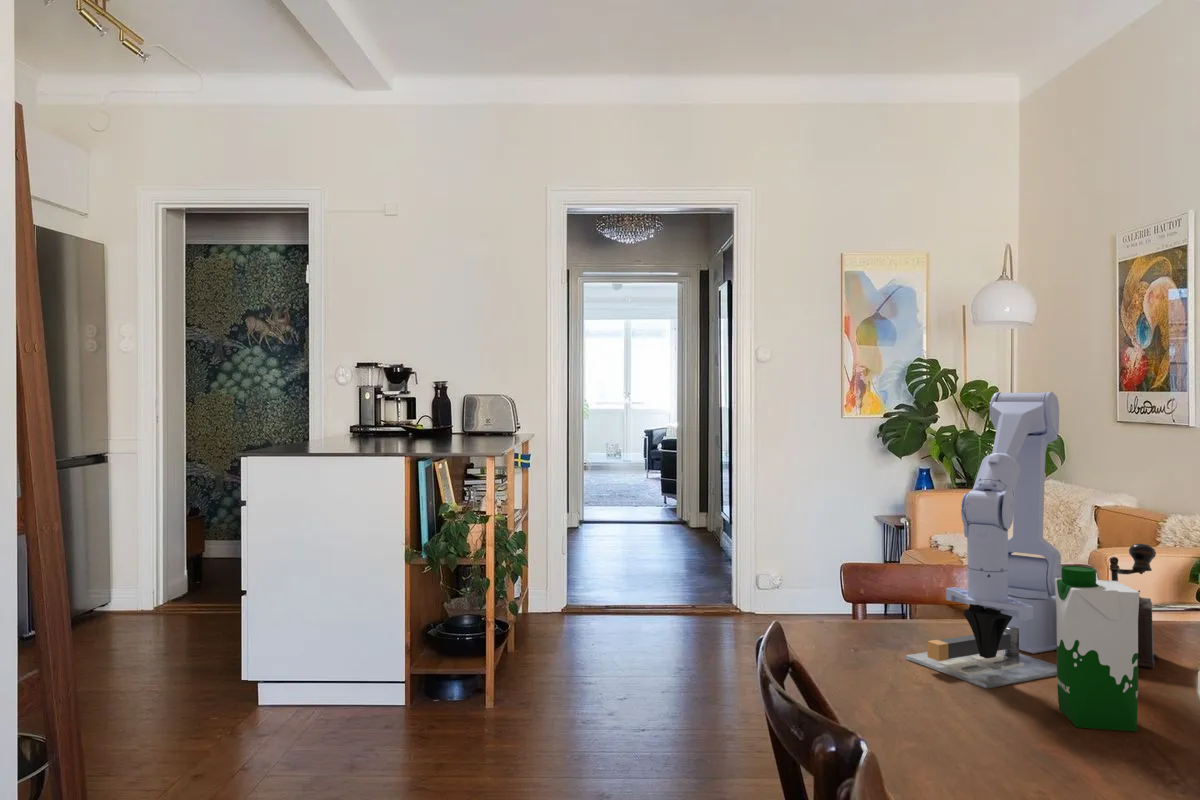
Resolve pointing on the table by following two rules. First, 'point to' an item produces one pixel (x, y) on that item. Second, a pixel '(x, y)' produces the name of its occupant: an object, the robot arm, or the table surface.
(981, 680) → the tray base
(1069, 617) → the milk carton
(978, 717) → the table surface
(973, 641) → the swing arm
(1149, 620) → the manual coffee grinder
